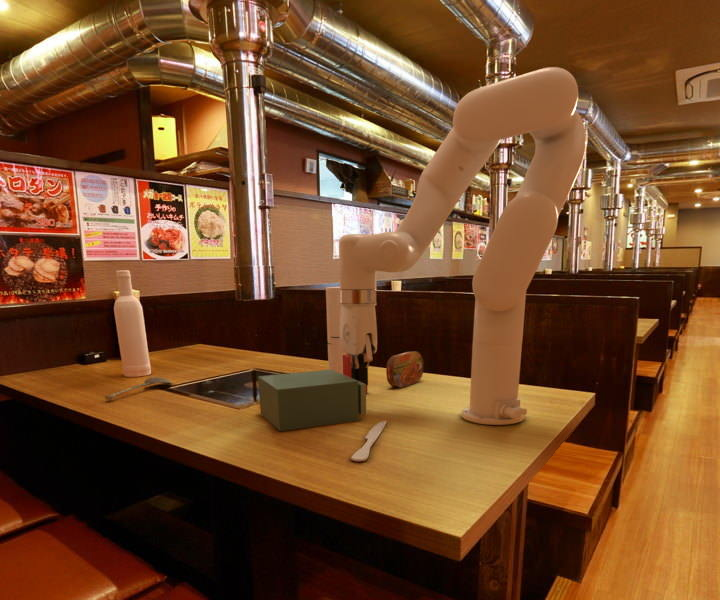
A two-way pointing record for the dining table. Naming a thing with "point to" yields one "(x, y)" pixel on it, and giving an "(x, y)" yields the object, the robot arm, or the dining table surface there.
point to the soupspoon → (147, 382)
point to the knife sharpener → (347, 367)
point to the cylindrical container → (334, 329)
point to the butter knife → (368, 442)
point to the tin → (404, 369)
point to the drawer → (361, 398)
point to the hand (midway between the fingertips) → (359, 385)
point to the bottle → (131, 329)
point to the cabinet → (308, 399)
